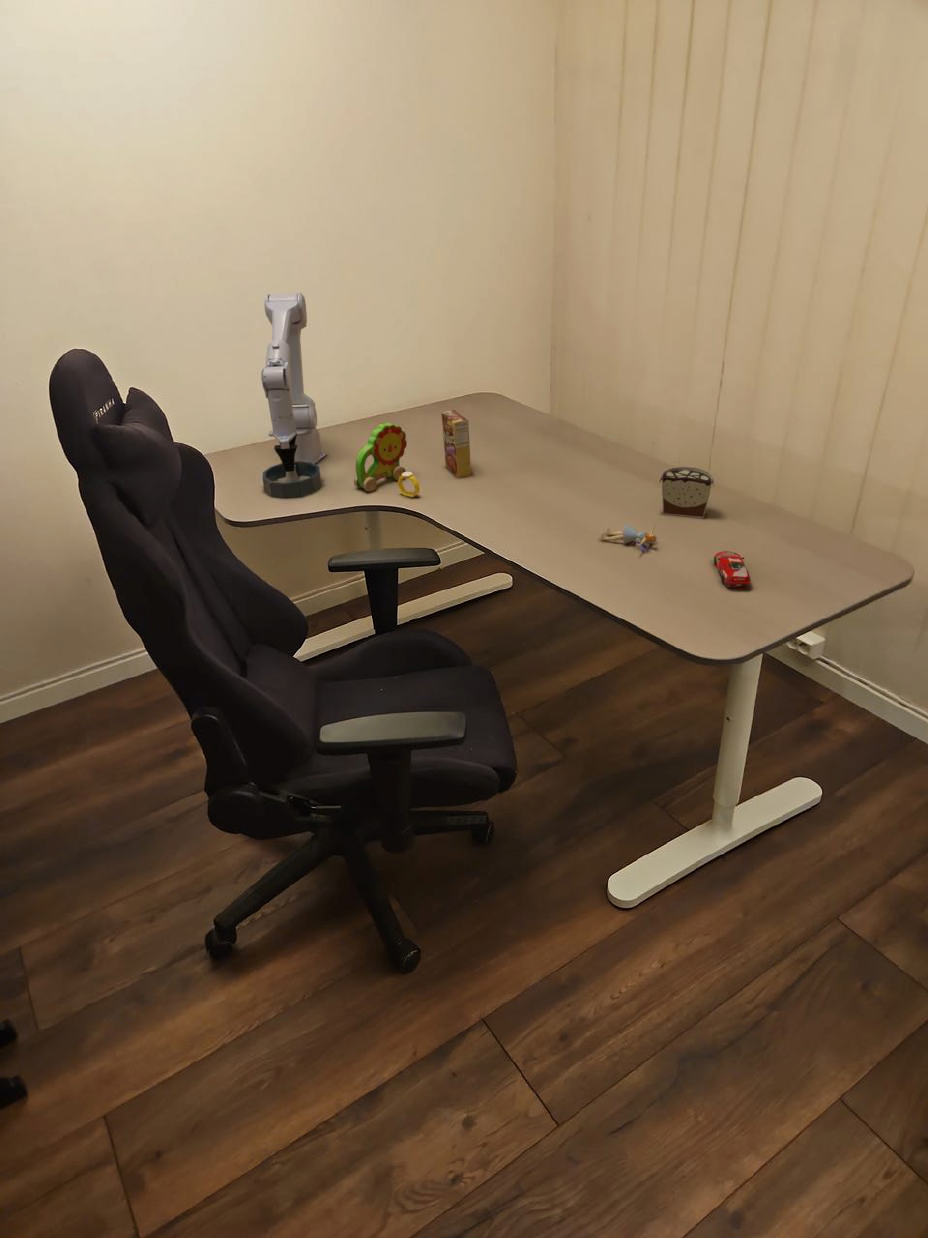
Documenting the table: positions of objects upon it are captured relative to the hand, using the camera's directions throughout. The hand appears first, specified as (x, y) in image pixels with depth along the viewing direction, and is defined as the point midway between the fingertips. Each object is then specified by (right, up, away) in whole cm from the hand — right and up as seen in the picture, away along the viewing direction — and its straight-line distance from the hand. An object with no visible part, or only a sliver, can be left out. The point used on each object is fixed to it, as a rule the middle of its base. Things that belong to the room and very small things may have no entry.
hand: (290, 465), depth 228 cm
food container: (+97, -14, -19) cm, 100 cm away
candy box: (+43, 0, +7) cm, 44 cm away
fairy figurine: (+82, -23, -32) cm, 90 cm away
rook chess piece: (0, -5, +3) cm, 6 cm away
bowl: (0, -5, +3) cm, 6 cm away
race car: (+100, -31, -45) cm, 114 cm away
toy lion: (+24, -4, +3) cm, 25 cm away
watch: (+31, -9, -5) cm, 33 cm away
